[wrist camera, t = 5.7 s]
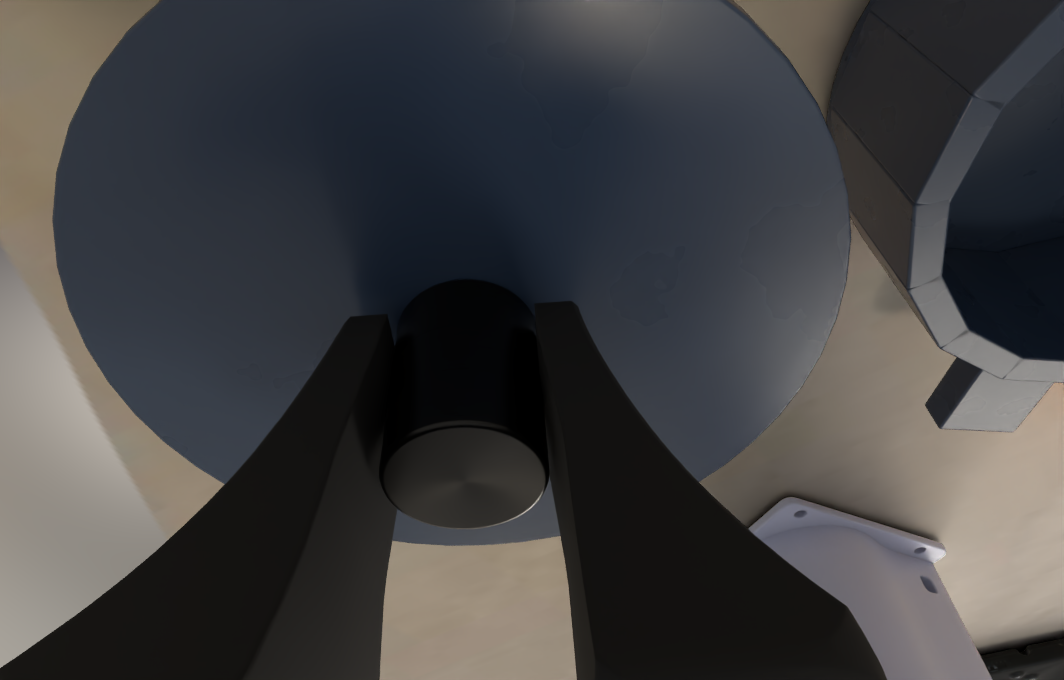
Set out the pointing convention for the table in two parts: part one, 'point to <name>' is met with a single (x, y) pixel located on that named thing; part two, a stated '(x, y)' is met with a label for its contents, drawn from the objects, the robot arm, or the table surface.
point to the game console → (1028, 662)
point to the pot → (964, 187)
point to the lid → (451, 228)
